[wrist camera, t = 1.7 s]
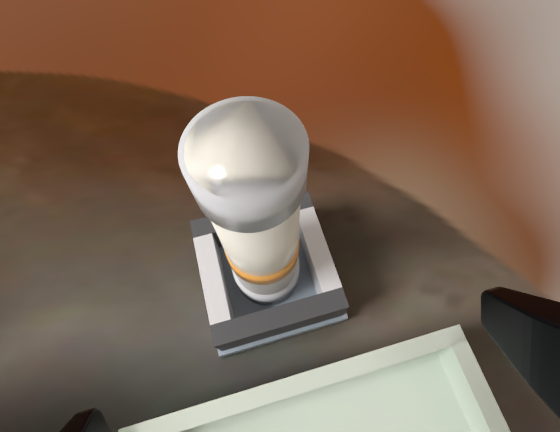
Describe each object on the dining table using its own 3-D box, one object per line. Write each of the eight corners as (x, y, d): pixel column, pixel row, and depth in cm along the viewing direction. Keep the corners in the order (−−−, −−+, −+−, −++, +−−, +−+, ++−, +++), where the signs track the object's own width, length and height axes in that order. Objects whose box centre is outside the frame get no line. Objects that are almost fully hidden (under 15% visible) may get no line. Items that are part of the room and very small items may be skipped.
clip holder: (346, 320, 20) (354, 309, 18) (221, 357, 20) (210, 352, 17) (307, 210, 23) (310, 186, 21) (198, 239, 23) (185, 218, 20)
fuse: (311, 276, 21) (336, 149, 10) (264, 319, 20) (233, 231, 9) (270, 233, 22) (251, 77, 11) (223, 271, 21) (152, 143, 10)
